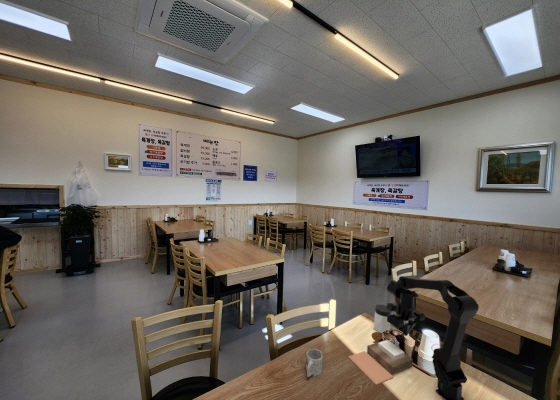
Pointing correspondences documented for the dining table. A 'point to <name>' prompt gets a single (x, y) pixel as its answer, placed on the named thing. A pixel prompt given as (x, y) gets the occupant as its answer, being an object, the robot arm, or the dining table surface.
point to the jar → (381, 318)
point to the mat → (371, 368)
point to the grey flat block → (391, 349)
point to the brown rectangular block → (389, 360)
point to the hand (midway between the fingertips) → (405, 335)
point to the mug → (314, 362)
